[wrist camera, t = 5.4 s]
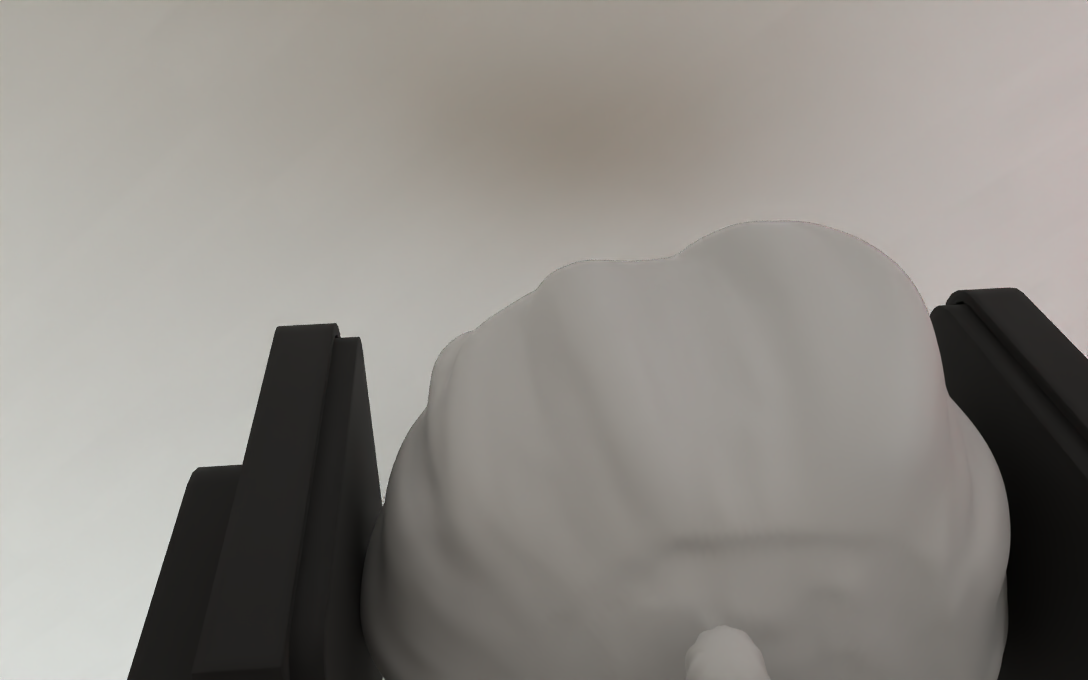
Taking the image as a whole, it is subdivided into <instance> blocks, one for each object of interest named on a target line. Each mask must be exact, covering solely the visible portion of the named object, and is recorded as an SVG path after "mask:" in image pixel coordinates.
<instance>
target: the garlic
mask: <svg viewBox="0 0 1088 680" xmlns="http://www.w3.org/2000/svg"><path fill="white" fill-rule="evenodd" d="M1009 552H1010V515H1009V506H1008V500H1007V494H1006V490H1005V486H1004V482H1003V479H1002V476H1001V473H1000V470H999V467H998V465H997V463H996V460H995V458H994V456H993V454H992V452H991V450H990V449H989V447H988V445H987V443H986V442H985V440H984V439H983V437H982V436H981V434H980V433H979V431H978V430H977V428H976V427H975V426H974V425H973V423H972V422H971V421H970V419H969V418H968V417H967V416H966V415H965V413H964V412H963V411H962V410H961V409H960V408H959V407H958V405H957V404H956V403H955V402H954V401H953V400H952V399H951V397H950V396H949V394H948V391H947V389H946V386H945V378H944V372H943V366H942V361H941V356H940V351H939V347H938V343H937V339H936V335H935V332H934V328H933V325H932V322H931V319H930V316H929V313H928V311H927V308H926V306H925V304H924V301H923V299H922V297H921V295H920V293H919V292H918V290H917V288H916V287H915V285H914V284H913V282H912V281H911V279H910V278H909V277H908V275H907V274H906V273H905V272H904V271H903V270H902V269H901V268H900V267H899V266H898V265H897V264H896V263H895V262H894V261H893V260H892V259H890V258H889V257H888V256H887V255H885V254H884V253H883V252H881V251H880V250H878V249H877V248H875V247H873V246H872V245H870V244H868V243H867V242H865V241H863V240H861V239H859V238H857V237H854V236H852V235H850V234H847V233H845V232H842V231H839V230H836V229H833V228H830V227H826V226H823V225H818V224H814V223H808V222H800V221H754V222H744V223H739V224H735V225H731V226H728V227H726V228H723V229H720V230H718V231H716V232H713V233H711V234H709V235H706V236H704V237H702V238H701V239H699V240H697V241H696V242H694V243H693V244H691V245H690V246H688V247H687V248H685V249H684V250H683V251H681V252H680V253H678V254H677V255H675V256H672V257H668V258H661V259H653V260H641V261H614V260H584V261H579V262H575V263H572V264H570V265H567V266H564V267H562V268H559V269H557V270H556V271H554V272H552V273H551V274H550V275H548V276H547V277H546V278H545V279H544V281H543V282H542V283H541V285H540V286H539V287H538V288H537V289H536V290H535V291H533V292H531V293H529V294H527V295H526V296H524V297H522V298H521V299H519V300H517V301H516V302H514V303H512V304H511V305H509V306H507V307H506V308H504V309H502V310H501V311H499V312H498V313H496V314H494V315H493V316H491V317H490V318H489V319H487V320H486V321H485V322H483V323H482V324H481V325H480V326H479V327H478V328H476V329H475V330H474V331H470V332H467V333H464V334H462V335H460V336H458V337H456V338H455V339H454V340H452V341H451V342H450V343H449V344H448V345H447V346H446V347H445V348H444V349H443V350H442V352H441V353H440V355H439V356H438V358H437V360H436V362H435V365H434V367H433V371H432V376H431V381H430V388H429V397H428V405H427V407H426V408H425V410H424V411H423V412H422V414H421V415H420V416H419V417H418V419H417V420H416V422H415V423H414V424H413V426H412V427H411V429H410V430H409V432H408V434H407V436H406V437H405V439H404V441H403V443H402V445H401V448H400V450H399V452H398V455H397V457H396V460H395V462H394V465H393V468H392V471H391V475H390V478H389V482H388V487H387V492H386V497H385V503H384V505H383V507H382V509H381V511H380V514H379V516H378V518H377V521H376V524H375V526H374V529H373V532H372V535H371V538H370V542H369V545H368V549H367V553H366V558H365V562H364V567H363V574H362V583H361V597H360V618H361V626H362V631H363V635H364V639H365V642H366V645H367V648H368V650H369V653H370V655H371V657H372V659H373V661H374V663H375V665H376V667H377V668H378V670H379V672H380V673H381V675H382V676H383V677H384V679H385V680H997V678H998V675H999V672H1000V668H1001V663H1002V658H1003V652H1004V649H1005V645H1006V640H1007V634H1008V600H1007V575H1006V569H1007V565H1008V559H1009Z"/></svg>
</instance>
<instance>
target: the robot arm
mask: <svg viewBox="0 0 1088 680" xmlns="http://www.w3.org/2000/svg"><path fill="white" fill-rule="evenodd" d="M930 319H931V322H932V325H933V328H934V332H935V335H936V339H937V343H938V347H939V351H940V356H941V361H942V366H943V372H944V378H945V386H946V389H947V391H948V394H949V396H950V397H951V399H952V400H953V401H954V402H955V403H956V404H957V405H958V407H959V408H960V409H961V410H962V411H963V412H964V413H965V415H966V416H967V417H968V418H969V419H970V421H971V422H972V423H973V425H974V426H975V427H976V428H977V430H978V431H979V433H980V434H981V436H982V437H983V439H984V440H985V442H986V443H987V445H988V447H989V449H990V450H991V452H992V454H993V456H994V458H995V460H996V463H997V465H998V467H999V470H1000V473H1001V476H1002V479H1003V482H1004V486H1005V490H1006V494H1007V500H1008V506H1009V515H1010V552H1009V559H1008V565H1007V569H1006V575H1007V600H1008V634H1007V640H1006V645H1005V649H1004V652H1003V658H1002V663H1001V668H1000V672H999V675H998V678H997V680H1088V359H1087V358H1086V357H1085V356H1084V355H1083V354H1082V353H1081V352H1080V351H1079V350H1078V349H1077V348H1076V347H1075V346H1074V345H1073V344H1072V343H1071V342H1070V341H1069V339H1068V338H1067V337H1066V336H1065V335H1064V334H1063V333H1062V332H1061V331H1060V330H1059V329H1058V328H1057V327H1056V326H1055V325H1054V324H1053V323H1052V322H1051V321H1050V320H1049V319H1048V318H1047V317H1046V316H1045V315H1044V314H1043V313H1042V312H1041V311H1040V310H1039V309H1038V308H1037V307H1036V306H1035V305H1034V304H1033V303H1032V301H1031V300H1030V299H1029V298H1028V297H1027V296H1026V295H1025V294H1024V293H1022V292H1021V291H1019V290H1018V289H1017V288H994V289H975V290H958V291H956V292H954V293H952V294H951V296H950V297H949V299H948V300H947V302H946V305H943V306H937V307H936V308H934V310H933V311H932V312H931V314H930ZM381 509H382V501H381V493H380V485H379V477H378V469H377V461H376V453H375V445H374V437H373V429H372V421H371V413H370V405H369V397H368V389H367V381H366V373H365V365H364V357H363V350H362V343H361V339H360V337H349V338H341V337H340V332H339V328H338V326H337V324H336V323H331V324H312V325H293V326H279V327H277V328H276V331H275V334H274V338H273V342H272V346H271V350H270V354H269V358H268V363H267V367H266V371H265V375H264V379H263V383H262V387H261V391H260V395H259V399H258V403H257V407H256V411H255V416H254V420H253V424H252V428H251V432H250V436H249V440H248V444H247V448H246V452H245V456H244V460H243V465H229V466H214V467H198V468H197V469H196V470H195V471H194V472H193V473H192V475H191V477H190V479H189V482H188V484H187V487H186V490H185V494H184V497H183V500H182V503H181V507H180V510H179V513H178V516H177V520H176V523H175V526H174V529H173V532H172V536H171V539H170V542H169V545H168V549H167V552H166V555H165V558H164V562H163V565H162V568H161V571H160V575H159V578H158V581H157V584H156V588H155V591H154V594H153V597H152V601H151V604H150V607H149V610H148V614H147V617H146V620H145V623H144V627H143V630H142V633H141V636H140V640H139V643H138V646H137V649H136V653H135V656H134V659H133V662H132V665H131V669H130V672H129V675H128V678H127V680H383V676H382V675H381V673H380V672H379V670H378V668H377V667H376V665H375V663H374V661H373V659H372V657H371V655H370V653H369V650H368V648H367V645H366V642H365V639H364V635H363V631H362V626H361V618H360V597H361V583H362V574H363V567H364V562H365V558H366V553H367V549H368V545H369V542H370V538H371V535H372V532H373V529H374V526H375V524H376V521H377V518H378V516H379V514H380V511H381Z"/></svg>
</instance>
